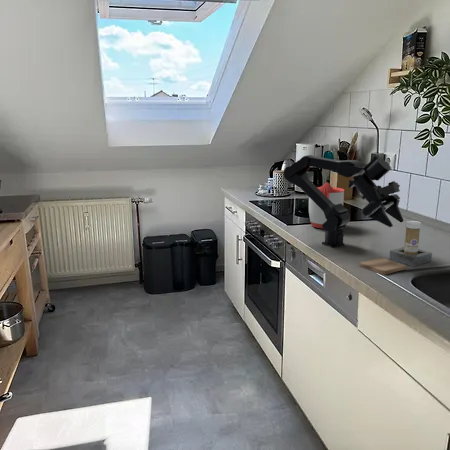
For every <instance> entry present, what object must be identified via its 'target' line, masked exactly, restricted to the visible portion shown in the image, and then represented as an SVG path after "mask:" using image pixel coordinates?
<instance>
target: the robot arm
mask: <svg viewBox="0 0 450 450" xmlns="http://www.w3.org/2000/svg"><path fill="white" fill-rule="evenodd" d="M311 168H316V169H317V168H318V169H322V170H323V169H324V170H327V171H332V172H335V173H336V174H338V175H340V176H342V177H344V178H352V177H355V178H353V179H349V180H348V188H349V189H350V188H354V187H355V188H356V189H357V191H358V192H359V193H360V194H361V195H362V196H361V199H362V200H366V201H367V204H366V205H365V206H364V207H363V208H362V210H361V211H362V212H361V213H362V214H363V216H364V217H368V219H369V218H370V219H372V220H375V221H376V222H378V223H381V224H383V225H385V226H387V227H388V228H392V227H393V226H394V225H393V223H392V221H391V219H390V218H389V216H391V217H392V218H393V219H395V220H396V221H398V222H400V223H403V222H404V218H403V216H402V212H401V210H400V207H399V204H400V202H401V200H400V199H401V197H400V196H399V194H396V193H399V192H401V189H400V187H401V185H400V184H399V183H398V182H396V181H395V180H393V181H389V182H388V184H387V185H386V186H381V185H377V184H376V183H375V182H374V181H379V180H381V179H382V178H383V177H384V176H385V175H386V174H387V173H388V172H389V171H391V170H392V167H391V166H390V163H388V162H387V161H386V160H384V159H383V158H381V157H380V156H379V155H376V156H374V157H372V159H371V160H370V161H369V162H368V163H367V164H364V163H362V162H360V161H359V160H357V159H347V160H339V159H338V160H337V159H333V158H332V159H330V158H326V157H319V156H316V155H315V156H314V155H312V154H309V155H307V154H306V155H304V156H303V155H302V157H301V158H300V159H299V160H297V161H296V162H293V163H292V164H291V165H289V166H286V167H285V168H284V170H283V178H284V179H285V180H286V181H287V182H289V183H290V184H291V185H294V186H297V187H298V188H300V190H301V191H302V192H304V193H305V195H307V196H308V198H309V197H310V198H311V199H312V200H313V201H314V202H315V203H316V204H317V205H318V206H319V207H320V208H321V209H322V211H323V212H324V215H325V218H326V220H327V221H326V222H325V223H323V224H322V227H323V228H322V230H323V231H325V233H324V234H325V235H324V241H322V242H321V244H323V245H325V246H328V247H331V248H337V247H342V246H345V245H346V243H345V242H344V230H343V229H345V228H346V226H347V224H349V222H351V214H350V212H349V209H347V208H346V207H345V206H344V204H343V205H342V204H341V203H340V204H336V205H335V204H333V203H332V202H331V201H330V200H329V199H328V198H327V197H326V196H325V195H324V194H323V193H322V192H321V191H320V190H319V189H318V188H317V187H318V186H316V185H315V184H314V183H313V182H312V181H311V180H310V179H309V175H308V173H307V172H308V171H309V170H310V169H311ZM361 173H362V174H361ZM387 214H388V215H389V216H388V215H387Z"/></svg>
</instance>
